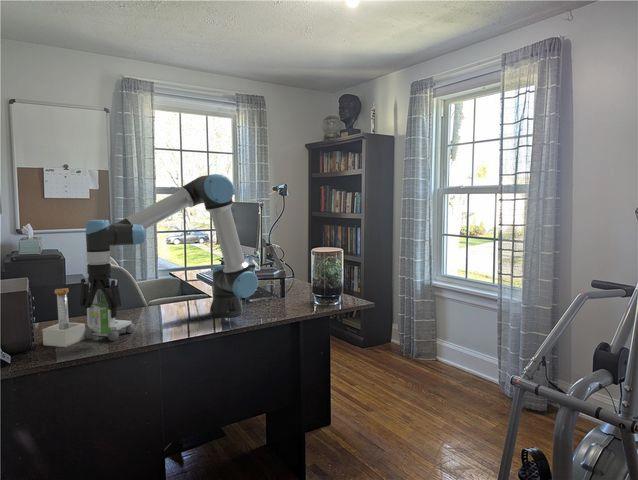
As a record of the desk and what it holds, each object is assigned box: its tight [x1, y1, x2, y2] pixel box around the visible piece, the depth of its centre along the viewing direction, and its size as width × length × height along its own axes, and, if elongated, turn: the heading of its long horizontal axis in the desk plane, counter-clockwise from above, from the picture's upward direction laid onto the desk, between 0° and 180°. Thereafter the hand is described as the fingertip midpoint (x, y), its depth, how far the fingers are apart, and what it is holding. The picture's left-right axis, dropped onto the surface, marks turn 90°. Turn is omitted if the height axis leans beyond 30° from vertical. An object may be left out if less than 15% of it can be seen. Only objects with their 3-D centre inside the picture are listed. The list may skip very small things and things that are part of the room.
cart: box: [85, 319, 136, 342], centre depth 171 cm, size 12×14×5 cm
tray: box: [42, 322, 87, 348], centre depth 163 cm, size 10×10×6 cm
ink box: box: [91, 292, 111, 334], centre depth 158 cm, size 7×4×13 cm, turn 50°
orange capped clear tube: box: [54, 287, 70, 330], centre depth 162 cm, size 4×4×19 cm
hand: (101, 325), depth 158 cm, fingers closed on ink box, 8 cm apart
